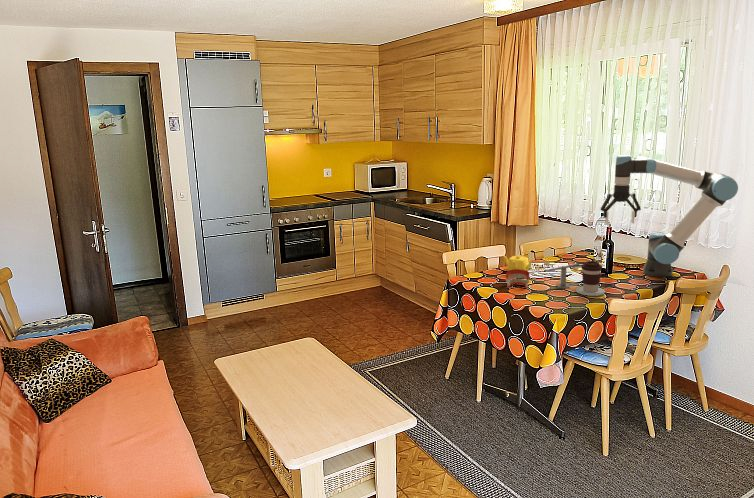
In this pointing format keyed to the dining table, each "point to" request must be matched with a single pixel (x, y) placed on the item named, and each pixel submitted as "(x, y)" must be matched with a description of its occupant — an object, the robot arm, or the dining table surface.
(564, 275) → the balance
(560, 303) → the dining table surface
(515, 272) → the toy
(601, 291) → the pale grey round disc
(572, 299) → the dining table surface
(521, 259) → the teapot
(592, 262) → the coffee cup
